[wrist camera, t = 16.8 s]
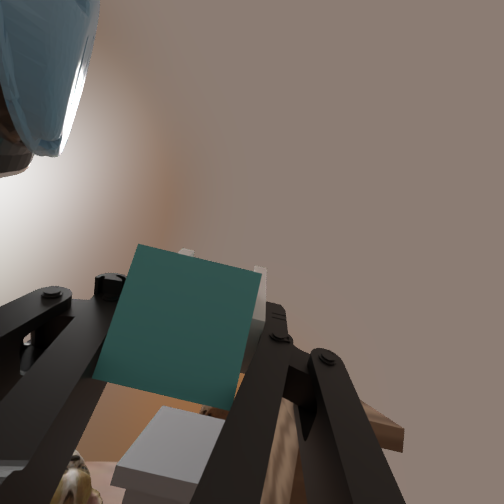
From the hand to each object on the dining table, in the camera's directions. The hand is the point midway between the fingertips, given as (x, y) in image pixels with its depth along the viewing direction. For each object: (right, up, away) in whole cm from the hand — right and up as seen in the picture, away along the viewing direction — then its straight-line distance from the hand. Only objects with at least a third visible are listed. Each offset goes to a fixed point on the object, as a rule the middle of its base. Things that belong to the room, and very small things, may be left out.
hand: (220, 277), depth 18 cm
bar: (-1, -5, +4) cm, 7 cm away
